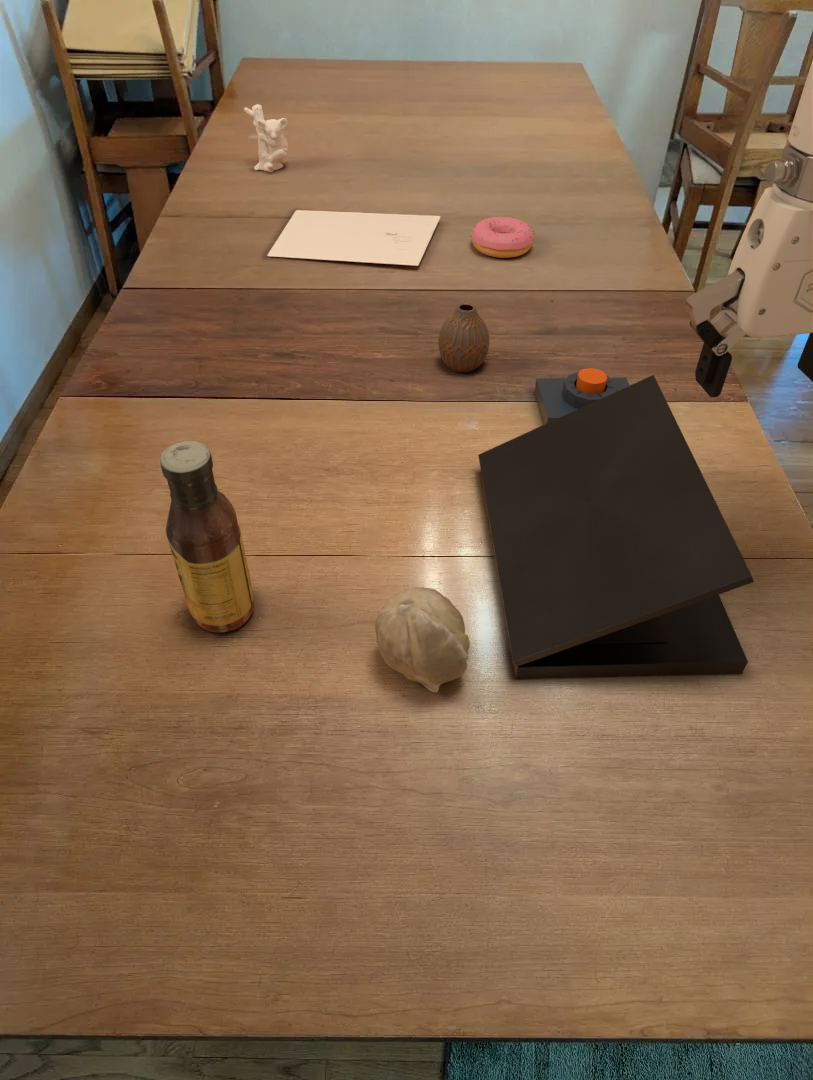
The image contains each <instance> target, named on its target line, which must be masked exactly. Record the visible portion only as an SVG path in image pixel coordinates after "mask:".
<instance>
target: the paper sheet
mask: <svg viewBox="0 0 813 1080" xmlns="http://www.w3.org/2000/svg"><path fill="white" fill-rule="evenodd" d="M441 218H442V217H441V215H425V214H424V215H423V214H401V213H400V214H398V213H379V212H378V213H376V212H355V211H354V212H351V211H331V210H330V211H329V210H328V211H326V210H304V209H296V210H295V211H294V212H293V214H292V216H291V217H290V219H289V220H288V222H287V224H286V225H285V226H284V228H283V230H282V231H281V232H280V235H278V238H277V239H276V241H275V242H274V243H273V245H272V247H271V248H270V249H269V252H268V253H267V254H266V256H267V257H274V258H276V257H277V258H278V257H279V258H291V259H305V260H306V259H307V260H308V259H309V260H320V261H321V260H323V261H324V260H325V261H336V262H337V261H338V262H355V263H370V264H371V263H372V264H385V265H402V266H419V265H420V263H421V260H422V259H423V256H424V254H425V252H426V249H427V248H428V245H429V243H430V241H431V239H432V236H433V234H434V232H435V230H436V228H437V226H438V223H439V221H440V219H441Z"/></svg>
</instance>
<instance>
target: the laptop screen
mask: <svg viewBox="0 0 813 1080" xmlns="http://www.w3.org/2000/svg"><path fill="white" fill-rule="evenodd" d="M629 385H630V386H628V387H626V388H623V389H621V390H619V391H617V392H615V393H612V394H610V395H608V396H606V397H604V398H602V399H599V400H597V401H595V402H593V403H591V404H588V405H586V406H584V407H582V408H580V409H577V410H575V411H573V412H571V413H569V414H566V415H564V416H562V417H560V418H558V419H556V420H553V421H551V422H549V423H547V424H545V425H543V424H542V425H540V426H538V427H536V428H533V429H531V430H529V431H527V432H525V433H522V434H521V435H519V436H516V437H514V438H512V439H510V440H507V441H505V442H503V443H501V444H499V445H497V446H494V447H492V448H490V449H487V450H485V451H483V452H481V453H478V454H477V455H478V461H479V468H480V470H481V473H480V475H481V474H482V479H481V481H482V480H483V485H482V487H483V486H484V491H483V493H484V492H485V497H486V502H485V504H486V503H487V508H486V510H487V509H488V514H487V516H488V515H489V520H488V522H489V521H490V526H489V528H490V527H491V532H490V534H491V533H492V538H491V540H492V539H493V544H494V550H495V556H496V562H497V568H498V573H497V575H498V574H499V579H498V581H499V580H500V585H499V587H500V586H501V591H502V597H503V603H504V609H505V615H506V621H507V627H508V633H509V638H510V644H511V650H512V656H513V662H514V663H515V665H516V666H520V665H523V664H526V663H529V662H531V661H534V660H537V659H540V658H543V657H545V656H548V655H551V654H554V653H557V652H559V651H562V650H565V649H568V648H571V647H573V646H576V645H579V644H582V643H585V642H587V641H590V640H593V639H596V638H599V637H601V636H604V635H607V634H610V633H613V632H615V631H618V630H621V629H624V628H627V627H629V626H632V625H635V624H638V623H641V622H644V621H646V620H649V619H652V618H655V617H658V616H660V615H663V614H666V613H669V612H672V611H674V610H677V609H680V608H683V607H686V606H688V605H691V604H694V603H697V602H700V601H702V600H705V599H708V598H711V597H714V596H716V595H719V596H720V595H722V594H724V593H727V592H731V591H733V590H735V589H738V588H742V587H745V586H747V585H750V584H752V583H754V582H755V581H754V577H753V575H752V573H751V571H750V569H749V567H748V565H747V563H746V561H745V559H744V557H743V554H742V553H741V550H740V548H739V546H738V545H737V542H736V541H735V538H734V536H733V534H732V532H731V531H730V527H729V526H728V524H727V522H726V520H725V517H724V515H723V514H722V512H721V510H720V508H719V505H718V503H717V501H716V499H715V498H714V496H713V493H712V492H711V489H710V488H709V485H708V483H707V481H706V479H705V477H704V475H703V473H702V471H701V469H700V467H699V464H698V463H697V460H696V458H695V456H694V454H693V452H692V450H691V449H690V446H689V444H688V442H687V440H686V439H685V436H684V434H683V432H682V430H681V428H680V426H679V424H678V422H677V420H676V417H675V416H674V414H673V412H672V410H671V407H670V406H669V404H668V401H667V399H666V397H665V395H664V393H663V391H662V389H661V387H660V384H659V383H658V381H657V379H656V377H655V374H652V375H650V376H648V377H645V378H643V379H640V380H639V381H636V382H634V383H632V384H629ZM485 497H484V498H485ZM493 544H492V545H493ZM494 550H493V551H494ZM495 556H494V557H495ZM496 562H495V563H496ZM497 568H496V569H497ZM501 591H500V592H501ZM502 597H501V598H502ZM503 603H502V604H503ZM504 609H503V610H504ZM505 615H504V616H505ZM506 621H505V622H506ZM507 627H506V628H507ZM508 633H507V634H508ZM510 644H509V645H510ZM511 650H510V651H511ZM512 656H511V657H512ZM513 662H512V663H513Z"/></svg>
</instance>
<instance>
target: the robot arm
mask: <svg viewBox="0 0 813 1080" xmlns="http://www.w3.org/2000/svg"><path fill="white" fill-rule="evenodd" d="M764 178H765V181H766V182H767V183H773V184H772V186H770V187H769V186H768V187H767V188H765V189H764V191H763V192H762V195H761V196H760V199H759V200H758V202H757V204H756V206H755V207H754V210H753V212H752V213H751V216H750V217H749V220H748V221H747V224H746V226H745V229H744V231H743V233H742V235H741V238H740V240H739V243H738V245H737V247H736V250H735V253H734V255H733V257H732V261H731V264H730V267H729V269H728V271H727V275H726V276H724V277H722V278H720V279H718V280H716V281H714V282H713V283H711V284H709V285H708V286H706V287H704V288H702V289H700V290H698V291H696V292H694V293H692V294H691V295H689V296H688V297H687V298H686V300H685V307H686V312H687V316H688V319H689V326H690V327H691V328H692V330H693V331H694V332H695V333H696V335H697V336H698V338H699V339H701V341H702V342H703V344H702V348H701V351H700V354H699V358H698V361H697V363H696V364H697V365H696V368H695V372H694V376H695V381H696V382H697V383H698V385H699V386H700V387H701V388H702V389H703V390H704V392H705V394H707V395H708V397H710V398H718V397H719V396H720V395H721V394H722V391H723V388H724V385H725V382H726V378H727V376H728V372H729V369H730V367H731V365H732V361H733V355H732V354H731V353H730V352H729V351H730V350H731V349H732V348H733V347H734V346H735V345H736V344H738V343H739V342H740V341H741V340H742V339H743V338H744V337H745V336H748V337H750V338H754V339H765V338H775V337H776V338H777V337H785V336H795V335H805V334H808V337H807V340H806V342H805V344H804V347H803V350H802V352H801V355H800V357H799V359H798V362H797V369H798V370H799V371H801V372H802V374H804V375H805V376H806V377H807V378H808V380H810V381H811V382H812V383H813V59H812V61H811V64H810V67H809V71H808V74H807V76H806V80H805V83H804V86H803V89H802V93H801V95H800V98H799V101H798V104H797V108H796V111H795V115H794V117H793V120H792V124H791V126H790V130H789V133H788V137H787V140H786V143H785V145H784V148H783V151H782V153H781V158H780V159H778V160H774V161H769V162H768V163H767V165H766V167H765V169H764ZM718 306H719V308H720V311H719V312H718V313H717V314H716V315H715V316H714V317H712V319H711V312H712V311H713V310H714V309H715V308H716V307H718ZM732 322H733V323H734V324H733V325H732V326H731V327H729V328H728V329H727V331H726V332H725V333H723V334H722V335H721V333H722V331H724V329H726V328H727V326H729V325H730V324H731V323H732Z"/></svg>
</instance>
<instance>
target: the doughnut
mask: <svg viewBox="0 0 813 1080" xmlns="http://www.w3.org/2000/svg"><path fill="white" fill-rule="evenodd" d="M470 235H471V236H470V238H471V242H472V245H473V247H474V248H475V249H476V250H477V251H478V252H479V253H481V254H483V255H485V256H489V257H493V258H498V259H509V258H511V259H512V258H516V257H519V256H523V255H524V254H526V253H528V251H530V249H531V248H532V246H533V242H534V241H535V230H533V229H532V226H530V224H528V223H527V222H526V221H524V220H521V219H518V218H515V217H509V216H498V215H496V216H492V217H487V218H482V220H480V221H478V222H477V223H476V224H475V225H473V229H472V230H471V234H470Z"/></svg>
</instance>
